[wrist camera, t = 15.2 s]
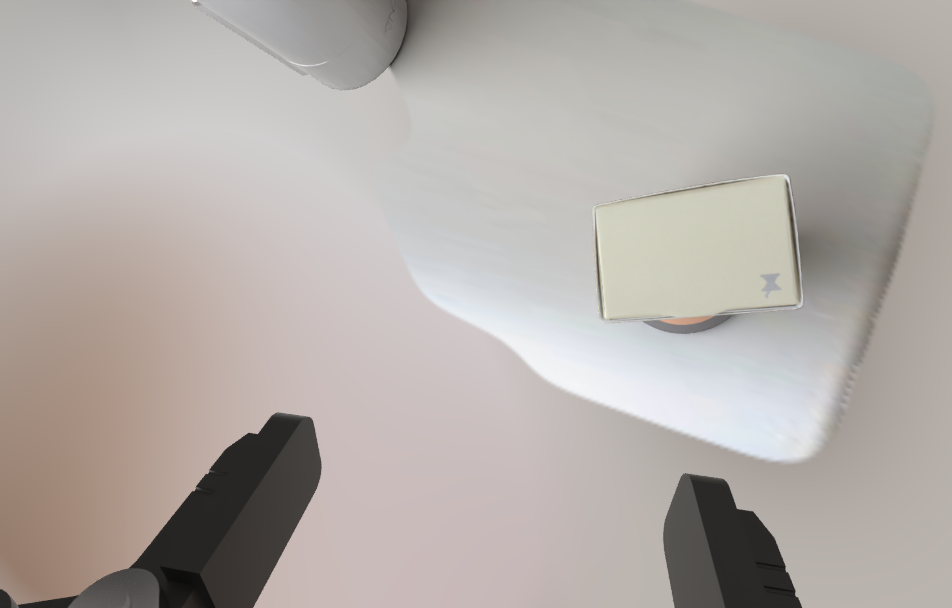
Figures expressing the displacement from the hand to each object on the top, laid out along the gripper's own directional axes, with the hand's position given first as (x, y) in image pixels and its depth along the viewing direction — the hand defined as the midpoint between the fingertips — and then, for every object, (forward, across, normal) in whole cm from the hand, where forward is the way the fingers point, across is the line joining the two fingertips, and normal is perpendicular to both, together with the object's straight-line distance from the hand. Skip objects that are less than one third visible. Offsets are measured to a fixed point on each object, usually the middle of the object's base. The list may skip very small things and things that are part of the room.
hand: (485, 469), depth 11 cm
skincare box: (+19, -8, +4) cm, 21 cm away
